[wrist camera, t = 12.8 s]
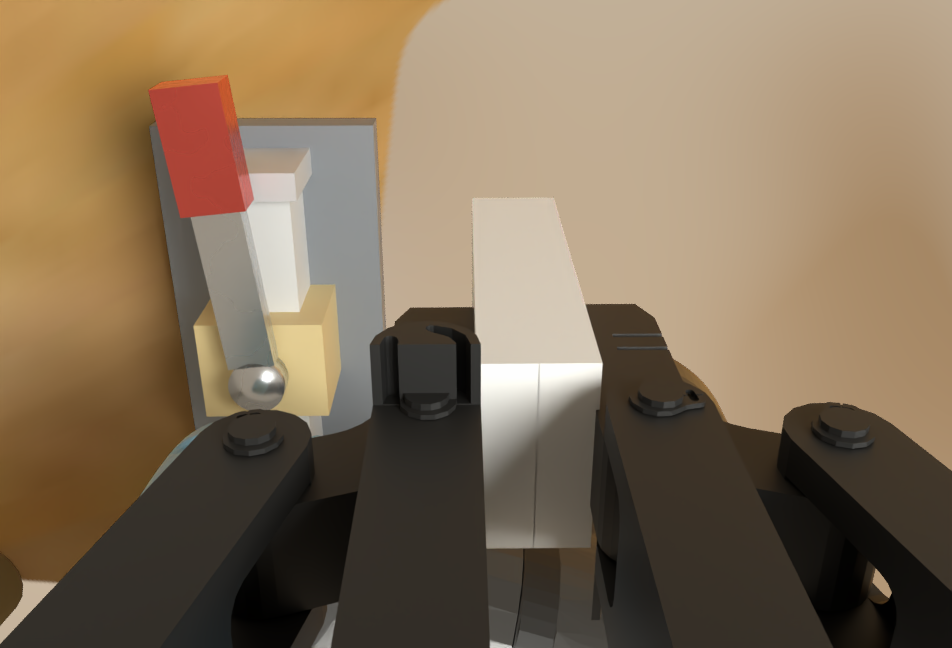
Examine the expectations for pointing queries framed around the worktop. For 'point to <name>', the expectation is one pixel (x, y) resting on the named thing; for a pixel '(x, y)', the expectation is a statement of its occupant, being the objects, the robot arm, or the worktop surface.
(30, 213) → the worktop surface
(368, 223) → the valve board
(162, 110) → the lever
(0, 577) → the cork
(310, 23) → the worktop surface
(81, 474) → the worktop surface
